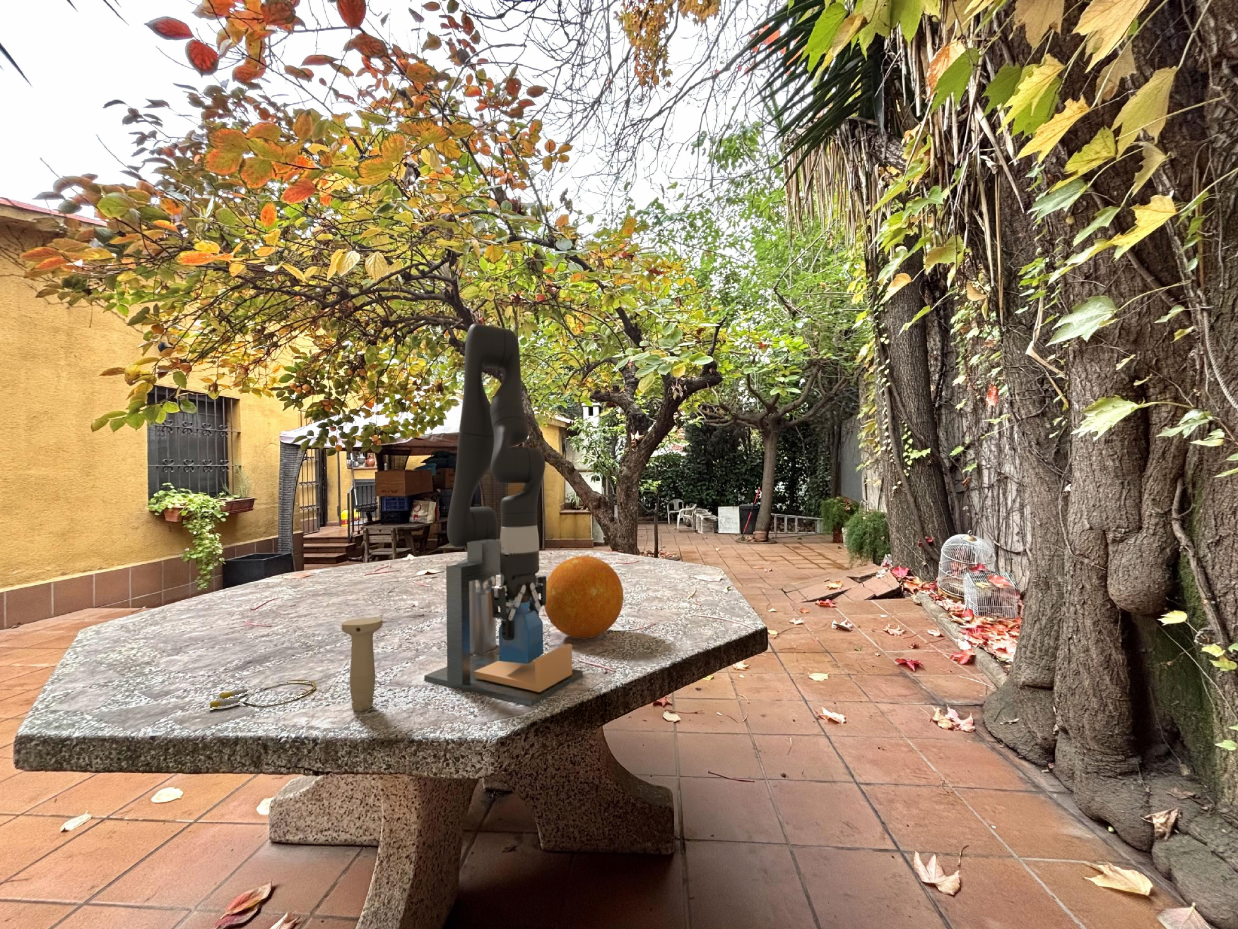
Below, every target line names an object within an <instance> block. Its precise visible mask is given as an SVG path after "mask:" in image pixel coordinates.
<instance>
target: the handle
mask: <svg viewBox="0 0 1238 929" xmlns="http://www.w3.org/2000/svg"><path fill="white" fill-rule="evenodd" d="M382 627H383V618H382V617H362V618H354V619H353V618H352V619H348V620H345V621H343V622H342V623H341V632H343V633H344V634H347V635H349V636H350V637H351V647H350V648H351V649H350V650H351V652H350V653H351V654H350V668H349V670H350V671H349V692H350V698H351V701H352V703H351V707H352V710H353V711H356V712H363V711H365V710H370V709H372V706H374V695H375V687H376V666H375V654H374V653H375V652H374V640H373V639H374V634H375V633H376V632H377V631H379V630H380V629H381V628H382ZM369 708H370V709H369Z"/></svg>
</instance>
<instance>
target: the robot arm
mask: <svg viewBox="0 0 1238 929" xmlns="http://www.w3.org/2000/svg"><path fill="white" fill-rule="evenodd" d="M464 348H465V349H464V372H463V373H464V374H463V376H464V377H463V378H464V379H463V395H462V397H463V398H462V406H461V414H460V421H459V422H460V423H459V429H458V438H457V452H456V462H455V463H456V464H455V465H456V466H455V472H454V473H455V474H454V482H453V488H452V494H451V500H450V504H449V510H448V514H447V524H446V533H447V534H446V535H447V539H448V542H449V544H450V546H452V547H454V548H467V542H472V541H479V540H486V539H497V540H498V539H499V540H500V572H501V574H502V575H503V576H504V581H503V585H501V584H500V585H499V586H497V585H496V586H493V587H492V588H491V594H487V595H478V594H476V580H474V581H469V610H470V655H471V654H480V653H482V652H484V653H487V652H489V651H491V650H494V649H495V648H496V647H497V619H498V620H500V624H501V623H502V637H503V639H504V640H509V641H510V640H513V639H514V620H512V619H513V617H514V614H515V611H516V609H518V608H519V605H520V603H521V599H522V596H525V595H529V596H528V600H529V601H530V606H529V607H528V610H535V611H536V613H537V614H538V616H539V617H540V611H541V610H542V607H544V606H545V605H546V583H547V580H548V578H547V576H546V575H539V574H538V575H537V573H539V571H540V539H539V530H538V501H539V495H540V489H541V486H542V481H543V478H544V475H545V471H546V470H545V469H546V461H545V460H546V459H545V457H544V455H543V453H542V451H541V450H540V449H539V448H536V447H516V446H519V445H522V444H524V443H525V442H526V441H527V440H528V438H529V435H530V434H529V433H530V432H529V425H528V422H527V417H526V412H525V409H524V404H523V403H524V402H523V394H522V371H521V369H522V368H521V355H520V353H521V352H520V345H519V340H518V337H517V334H516V333H515V332H514V331H513V330H511V329H508V328H503V327H498V326H493V325H488V324H482V323H473V324H471V325H470V326H469V328H468V330H467V334H466V339H465V347H464ZM483 368H486V369H487V368H489V369H496V370H502V371H503V374H504V376H503V380H502V382H501V384H500V386H499V387H498V389H497V390H496V392H495V393H494V395H493V396H492V398H491V402H490V400H489V398H488V396H487V393H486V391H485V387H484V381H483ZM489 470H490V473H491V476H492V477H493V478H494V480H496V482H497V483H499V484H524V486H523V488H522V489H521V491H520V492H518V493H516V494H512V495H508V496H505V497H503V498H501V501H500V533H498V532H499V528H498V527H499V524H498V517H497V514H496V512H495V511H494V508H492V507H491V506H471V505H472V500H473V497H474V494H475V492H476V489H477V487H478V486H479V484H480V483H481V481H482V480H483V478H484V477H485V476H486V475H487V473H488V472H489ZM498 535H499V538H498ZM465 562H467V557H465V558H464V559H462V560H461V561H458V562H457V563H456V564H460V563H465ZM539 594H540V595H539ZM509 600H510V601H511V602H513V603H508V601H509ZM508 608H510V610H509V613H507V610H508Z"/></svg>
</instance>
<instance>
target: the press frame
mask: <svg viewBox="0 0 1238 929" xmlns="http://www.w3.org/2000/svg"><path fill="white" fill-rule="evenodd" d="M466 548H467V549H466V552H467V555H466V556H467V557H466V558H467V562H465V563H460V564H457V563H454V564H450V565H445V580H446V582H445V583H446V584H445V586H446V589H445V590H446V592H445V593H446V594H445V596H446V600H445V601H446V666H444V667H442V668H440V669H437V670H434V671H431V672H429V673H427V674H425V675H424V678H423V680H424V682H428V683H432V684H437V685H440V686H445V687H449V688H453V689H458V690H462V691H466V692H470V693H475V694H478V695H482V696H487V697H490V698H496V699H500V700H503V701H508V702H512V703H516V704H520V705H525V706H528V707H533V706H535V705H536V704H538V703H539V702H541V700H542V701H543V700H545V699H547V698H548V697H550V696H552V695H553V694H556V693H558V692H559V691H561V690H562V689H564V688H565V687H567V686H569V685H571V684H572V683H574V682H575V681H578V680H579V679H581V678H583V677H584V671H583V670H578V669H574V668H572V674H571V675H570V676H568V677H566V678H564V679H563V680H561V681H559V682H557V683H555V684H554V685H552V686H550V687H548V688H546V689H545V690H543V691H541V692H537V691H532V690H528V689H523V688H519V687H514V686H510V685H505V684H501V683H496V682H492V681H487V680H483V679H478V678H474V671H476V670H478V669H481V668H483V667H485V666H488V665H490V664H492V663H494V662H497V661H499V654H493V653H488V652H481V653H476V654H475V655H472V656H471V654H470V610H469V581H474V580H476V594H478V595H487V594H491V588H492V587H493V586H497V576H499V575H500V586H501V585H503V581H504V576H503V575H502V574H501V572H500V539H498V538H497V539H486V540H479V541H472V542H467V547H466ZM508 603H512V602H511V601H510V600H509V601H508ZM509 610H510V608H508V610H507V613H509Z"/></svg>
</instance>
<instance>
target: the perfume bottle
mask: <svg viewBox="0 0 1238 929" xmlns="http://www.w3.org/2000/svg"><path fill="white" fill-rule="evenodd" d="M528 596H529V595H525V596H522V599H521V603H520V605H519V608H518V609H516V611H515V614H514V617H513V619H512V620H514V639H513V640H510V641H509V640H504V639H503V637H502V623H501V622H500V625H499V627H498V655H499V661H503V662H514V663H524V664H529V663H530V662H532V661H535V659H536V658H538V657H540V656H542V655H544V623H543V620H542V619H541V618H540V615H539V616H538V614H537V613H536V611H535V610H528V607H529V606H530V601H529V600H528ZM512 603H513V602H512Z"/></svg>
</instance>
